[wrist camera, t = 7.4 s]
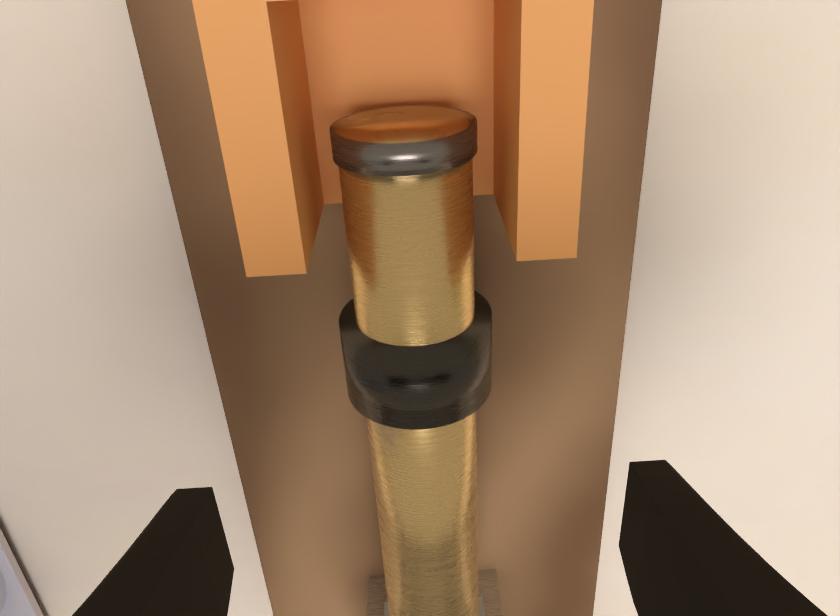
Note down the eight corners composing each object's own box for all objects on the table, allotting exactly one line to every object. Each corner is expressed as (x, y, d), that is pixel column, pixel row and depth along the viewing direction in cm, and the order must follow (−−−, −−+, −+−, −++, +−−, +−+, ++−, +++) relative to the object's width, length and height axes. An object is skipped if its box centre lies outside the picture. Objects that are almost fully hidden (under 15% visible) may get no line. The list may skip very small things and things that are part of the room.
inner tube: (379, 581, 24) (376, 683, 20) (323, 106, 16) (305, 155, 13) (484, 575, 24) (498, 676, 20) (481, 97, 16) (503, 143, 13)
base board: (293, 659, 29) (289, 682, 28) (120, -90, 15) (104, -89, 15) (581, 642, 29) (587, 664, 28) (660, -121, 15) (675, -123, 15)
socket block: (279, 197, 18) (246, 277, 14) (237, -70, 15) (179, -64, 11) (536, 181, 18) (576, 257, 14) (546, -88, 15) (600, -88, 11)
